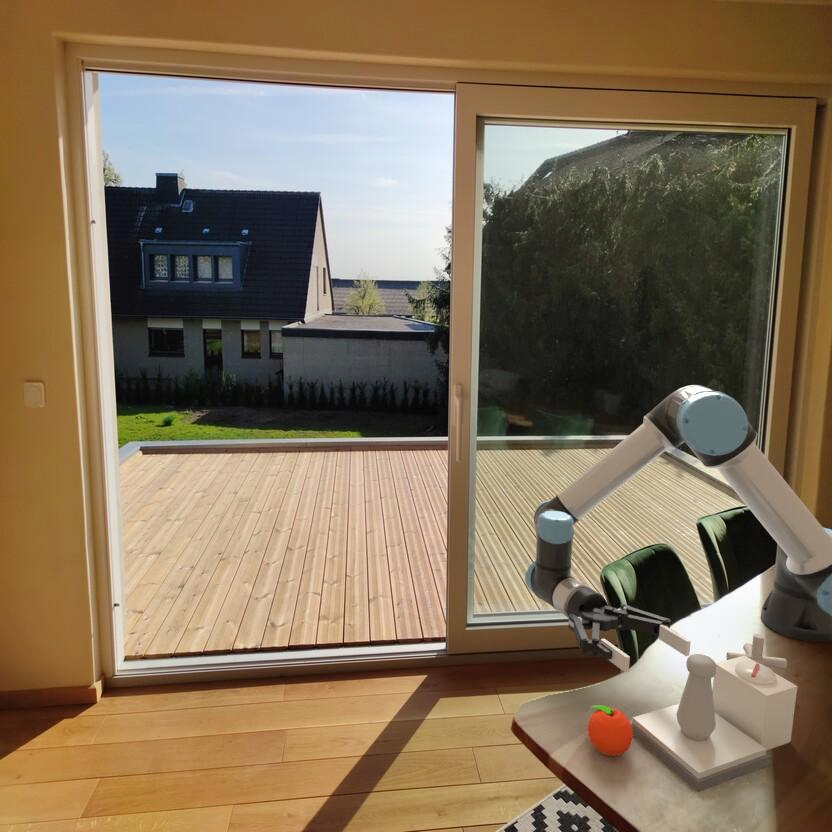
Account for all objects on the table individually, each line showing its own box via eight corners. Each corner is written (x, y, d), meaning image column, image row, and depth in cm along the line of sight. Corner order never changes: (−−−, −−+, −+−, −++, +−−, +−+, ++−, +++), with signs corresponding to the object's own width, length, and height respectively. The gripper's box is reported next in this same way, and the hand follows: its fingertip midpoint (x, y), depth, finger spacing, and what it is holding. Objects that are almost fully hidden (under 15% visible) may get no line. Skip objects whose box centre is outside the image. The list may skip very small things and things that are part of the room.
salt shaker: (707, 750, 99) (715, 673, 97) (670, 733, 103) (676, 659, 101) (719, 732, 104) (726, 657, 101) (682, 717, 107) (689, 645, 105)
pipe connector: (791, 704, 115) (798, 653, 114) (732, 696, 117) (737, 646, 116) (773, 674, 125) (778, 626, 123) (718, 667, 127) (723, 620, 125)
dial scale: (727, 699, 117) (733, 643, 115) (804, 751, 103) (812, 689, 101) (627, 729, 108) (631, 670, 106) (697, 791, 94) (704, 724, 92)
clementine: (571, 745, 104) (574, 705, 102) (596, 727, 108) (598, 689, 107) (616, 772, 98) (619, 730, 96) (639, 752, 102) (643, 711, 101)
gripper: (627, 610, 135) (710, 661, 115) (527, 632, 125) (598, 692, 106) (630, 577, 133) (714, 623, 114) (529, 596, 123) (601, 650, 104)
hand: (658, 656), depth 110 cm, fingers open, 13 cm apart
